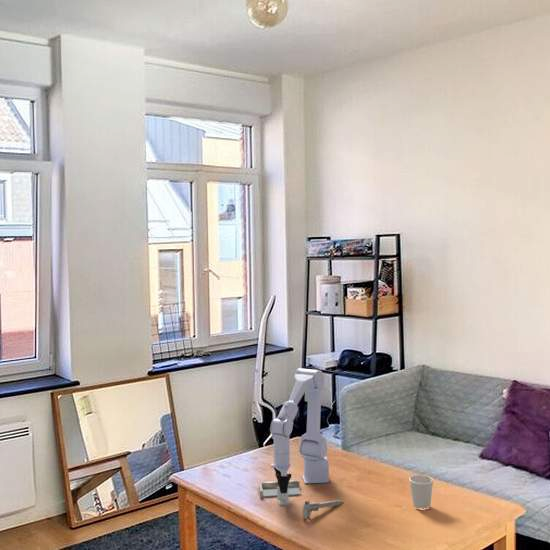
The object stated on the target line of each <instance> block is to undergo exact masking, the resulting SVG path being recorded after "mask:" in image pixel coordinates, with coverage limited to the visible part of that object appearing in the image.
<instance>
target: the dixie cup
mask: <svg viewBox="0 0 550 550" xmlns="http://www.w3.org/2000/svg"><path fill="white" fill-rule="evenodd" d="M408 480H409V483H410V484H409V485H410V492H411V499H412V507H413V506H414V507H416V508H423V509H424V508H428V507H430V508H431V505H432V504H431V502H432V495H433V494H432V492H433V483H434V481H435V479H434V478H433V477H431V476H429V475H425V474H415V475H411V476H410V477H409V478H408ZM414 507H413V508H414Z"/></svg>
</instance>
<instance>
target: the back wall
mask: <svg viewBox="0 0 550 550" xmlns="http://www.w3.org/2000/svg"><path fill="white" fill-rule="evenodd" d="M259 483H261V484H262V488H272V487H279V485H278V481H277V480H276V481H275V480H274V481H260V482H259ZM300 484H301V483H300V480H299V479H298V480H297V479H293V480H291V479H290V480H289V483H288V487H289V486H298V487H299V488H300V487H301V486H300Z"/></svg>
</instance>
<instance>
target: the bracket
mask: <svg viewBox="0 0 550 550" xmlns="http://www.w3.org/2000/svg"><path fill="white" fill-rule="evenodd" d="M276 500H277V503H278V506H279V505H280V506H291V502H290V496H288V489H287V493H281V492H280V488H279V487H277V497H276Z"/></svg>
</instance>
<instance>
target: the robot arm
mask: <svg viewBox="0 0 550 550" xmlns="http://www.w3.org/2000/svg"><path fill="white" fill-rule="evenodd" d="M293 378H294V383H295V384H294V386H293V388H292V391H291V394H290V397H289V399H288V401H285V402H284V403H283V405H282V407H281V409H280V411H279V413H278V415H277V416H276V418H275V419H273V420H271V423H270V427H269V432H270V434H271V439H272V440H273V463H271V464H270V467H271V468H273V470H274V472H275V478H276V481H278V485H279V488H280V492H281V493H287V489H288V483H289V481H291V478H292V473H288V470H289V469H290V468H291V458H290V457H291V454H290V453H291V451H290V450H291V449H290V436H291V433H292V431H293V426H294V420H295V419H296V416H297V414H298V412H299V407H298V404H299V403H300V401H301V400H302V397H303V396H304V395H305V393H306V392H307V410H306V411H307V412H306V413H307V415H306V416H307V417H306V432H305V433H304V434H302V435H301V436H300V442H299V445H298V450H299V453H300V455H301V456H302V458H303V470H304V475H302V480H303V482H304V484H306V485H307V484H325V483H330V476H329V475H330V471H329V466H330V465H329V459H328V456H326V455H327V453H328V445H327V438H326V436H324V435H323V434H322V433H321V410H322V408H321V407H322V404H321V403H322V391H323V390H324V389H325V388H324V387H325V374H324V373H323V371H322V370H321V369H311V368H303V367H299V368H298V369H297V370H296V371H295V373H294V377H293Z"/></svg>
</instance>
